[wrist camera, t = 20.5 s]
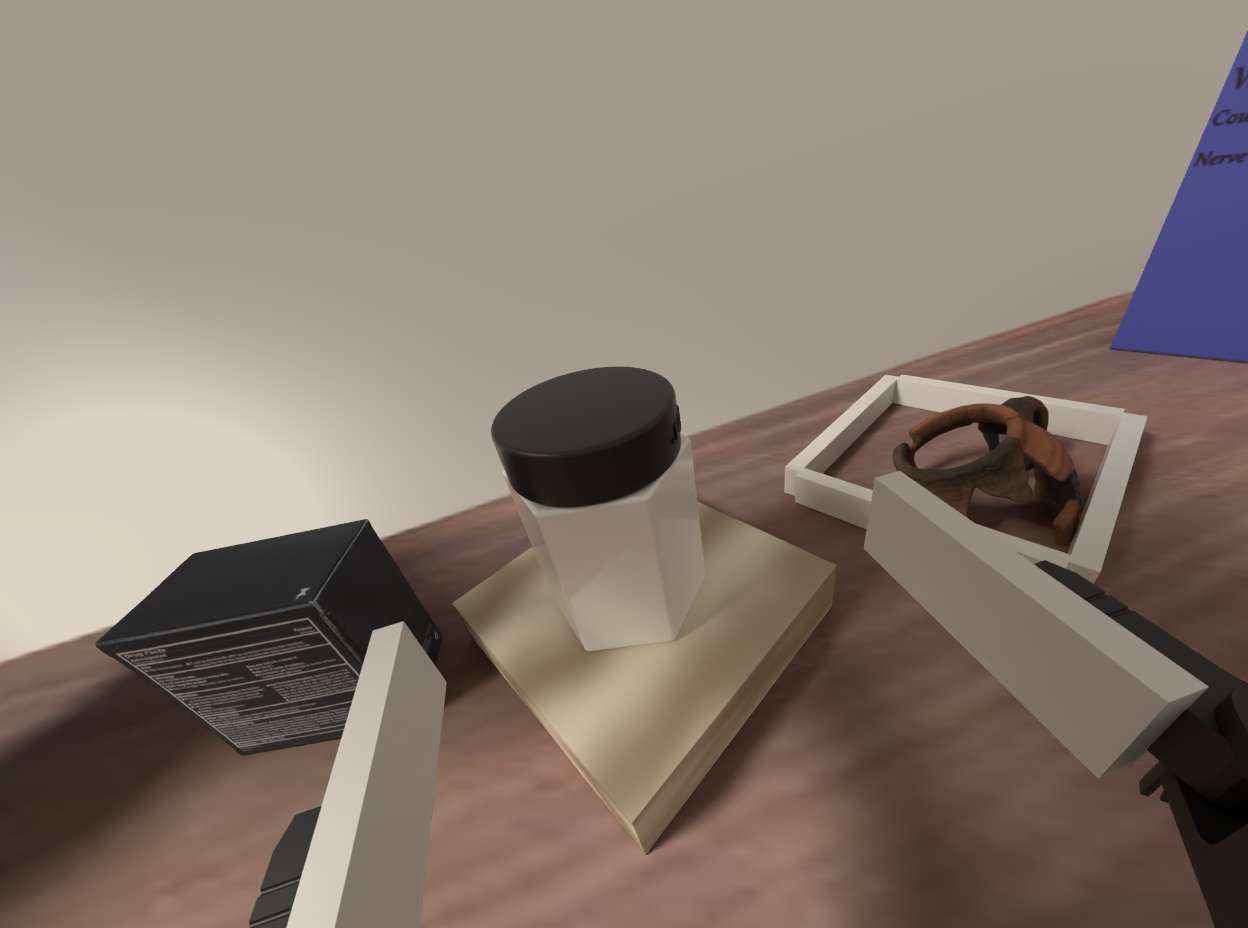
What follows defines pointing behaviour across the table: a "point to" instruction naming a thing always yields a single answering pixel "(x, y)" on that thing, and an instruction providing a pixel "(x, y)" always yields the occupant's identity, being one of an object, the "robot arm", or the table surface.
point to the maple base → (656, 667)
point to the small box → (270, 633)
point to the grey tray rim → (942, 396)
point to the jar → (607, 501)
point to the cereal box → (1201, 247)
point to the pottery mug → (1000, 459)
